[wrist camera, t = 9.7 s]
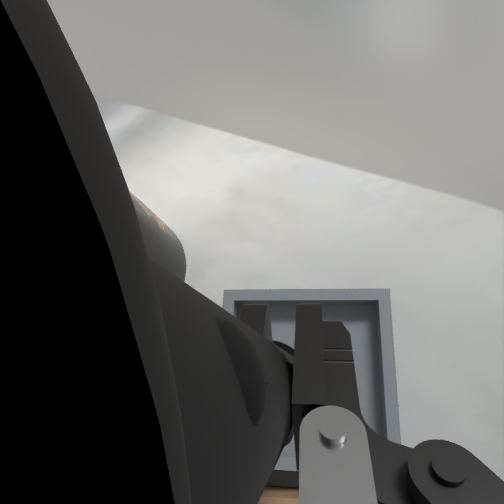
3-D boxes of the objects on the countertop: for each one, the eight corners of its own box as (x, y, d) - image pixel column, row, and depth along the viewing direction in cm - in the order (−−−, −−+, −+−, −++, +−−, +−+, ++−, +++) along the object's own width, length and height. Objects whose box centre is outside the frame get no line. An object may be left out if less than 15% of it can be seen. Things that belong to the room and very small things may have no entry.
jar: (199, 308, 41) (136, 278, 27) (93, 342, 42) (-24, 330, 27) (173, 206, 44) (106, 131, 30) (76, 239, 45) (-35, 181, 31)
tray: (384, 294, 38) (389, 288, 36) (396, 468, 34) (403, 477, 32) (230, 295, 41) (223, 289, 38) (224, 458, 37) (216, 466, 34)
